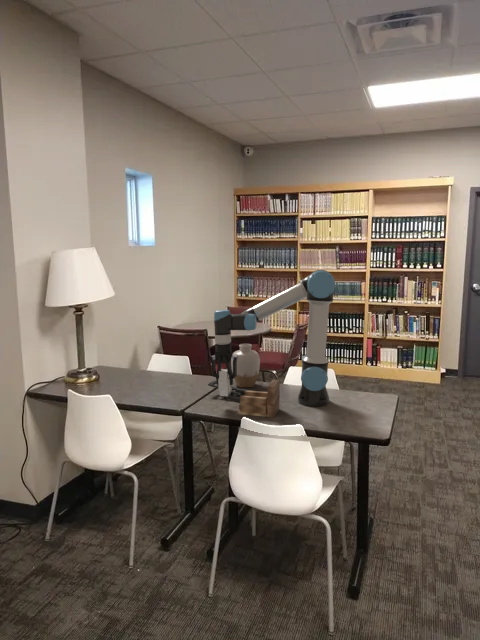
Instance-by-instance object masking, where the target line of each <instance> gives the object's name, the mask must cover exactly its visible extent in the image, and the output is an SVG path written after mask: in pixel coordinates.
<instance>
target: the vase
mask: <svg viewBox="0 0 480 640" xmlns="http://www.w3.org/2000/svg"><path fill="white" fill-rule="evenodd" d="M238 346H239V350H235V351H234V352H232V354H233V355H234V356H238V359H237V376H236V377H235V378H233V380H234V381H235V383H236V386H237V388H238V387H239V388H242V389H246V388H247V389H248V388H252V387H254V386H255V385H256V382H257V380H258V376H259V373H260V367H261V366H260V365H261V359H260V355H259V353H258V352H257V351H256V350H253V349H252V346H253V345H252V344H251V343H240V344H239V345H238ZM230 365H231V369H232V373H233V360H232V358H231V359H230Z"/></svg>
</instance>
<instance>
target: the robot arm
mask: <svg viewBox="0 0 480 640" xmlns="http://www.w3.org/2000/svg"><path fill="white" fill-rule="evenodd" d="M335 288H336V281H335V277H334V276H333V275H332V273H330V272H329V271H327V270H325V269H317V270H314V271H313V272H312V273H310V274H309V275H307V276H306V277H304V278H302V279H300V280H299V283H297V284H296V285H293V286H291V287H290V288H287V289H286V290H283V291H282V292H279V293H278V294H275V295H273V296H272V297H270V298H268V299H265V300H264V301H261V302H259V303H258V304H256V305H254V306H252V307H250V308H248V309H244V310H243V311H242V312H240V313H237V314H236V313H231V311H230V309H217V310H215V311H214V313H213V314H214V315H213V324H214V342H215V344H214V345H215V347H214V348H215V352H214V355H210V356H209V360H210V364H211V365H210V366H211V376H212V377H213V378H216V380H215V381H216V382H217V384H216V385H219V371H220V370H221V369H222V365H223V363H224V365H226V369H227V370H228V375H229V379H228V393H230V392H231V391H232V390H231V386H233V384H234V378H235V377H236V376H237V359H238V356H234V355H233V352H232V331H255V330H256V329H257V323H258V322H260V321H263V320H265V319H266V318H268V317H270V316H272V315H275V314H276V313H278V312H280V311H282V310H284V309H286V308H288V307H290V306H292V305H294V304H297V303H299V302H300V301H302V300H304V299H306V301H307V302H308V303H309V310H308V311H309V312H308V321H307V322H308V325H307V338H306V339H307V340H306V351H305V352H306V354H305V355H303V356H302V358H301V375H300V380H301V387H300V390H299V394H298V396H297V402H298V403H299V404H301V405H303V406H309V407H322V406H326V405H328V404H329V403H330V396H329V393H328V390H327V384H328V381H329V378H328V371H329V369H328V368H329V360H328V359H327V357H326V352H327V350H326V349H327V340H328V338H327V337H328V325H329V323H328V322H329V311H330V305H331V304H332V303H333V301H334V292H335ZM231 358H232V360H233V372H232V366H231ZM216 360H217V367H216ZM218 393H220V385H219V389H218Z"/></svg>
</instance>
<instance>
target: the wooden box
mask: <svg viewBox="0 0 480 640" xmlns="http://www.w3.org/2000/svg"><path fill="white" fill-rule="evenodd" d="M280 385H281V384H280V379H272V380H271V382H270V383H268V385H267V391H258V390H257V391H256V390H250V391H247V390H248V389H246V391H245V396H240V402H239V404H238V410H237V415H241V416H242V415H245V416H255V417H256V416H257V417H264V418H265V417H266V418H268V417H269V418H275V417H276V416H277V413H278V412H279V410H280V394H281V393H280V387H281V386H280Z"/></svg>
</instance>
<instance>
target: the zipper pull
mask: <svg viewBox="0 0 480 640" xmlns="http://www.w3.org/2000/svg"><path fill="white" fill-rule="evenodd" d="M207 385H208V386H209V387H212V388H214V389H215V388H216V389H217V390H219V385H217V382H216V380H213V381H211V382H208V383H207ZM231 390H232V391H231V394H230V395H229V396H225V400H228V401H233V402H237V403H240V396H245V391H246V390H247V391H251V390H250V389H246V388H241V387H239V388H238V387H235V386H233V385H231Z"/></svg>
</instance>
